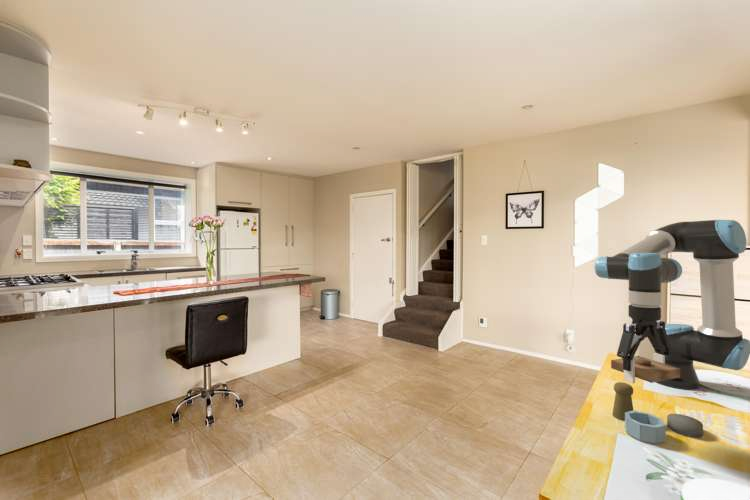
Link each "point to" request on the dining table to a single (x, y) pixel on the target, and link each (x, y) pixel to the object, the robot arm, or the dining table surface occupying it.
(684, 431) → the grey flattened dome
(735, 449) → the dining table surface
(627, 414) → the bowl
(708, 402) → the dining table surface
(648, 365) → the lid
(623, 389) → the pepper shaker
